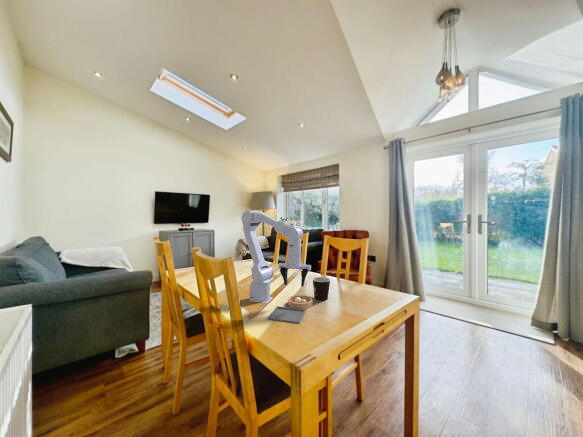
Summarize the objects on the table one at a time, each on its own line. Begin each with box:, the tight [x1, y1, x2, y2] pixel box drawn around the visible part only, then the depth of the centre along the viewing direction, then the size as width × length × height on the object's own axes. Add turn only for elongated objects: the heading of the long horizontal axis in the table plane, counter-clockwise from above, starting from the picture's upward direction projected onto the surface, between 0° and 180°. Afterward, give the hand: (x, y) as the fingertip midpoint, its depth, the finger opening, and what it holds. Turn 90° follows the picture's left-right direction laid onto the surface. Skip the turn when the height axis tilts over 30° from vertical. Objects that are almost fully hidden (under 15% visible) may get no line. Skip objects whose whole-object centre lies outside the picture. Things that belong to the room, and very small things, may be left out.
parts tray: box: [267, 305, 307, 325], centre depth 96 cm, size 13×12×1 cm
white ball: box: [294, 297, 301, 303], centre depth 107 cm, size 3×3×3 cm
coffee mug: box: [312, 276, 331, 302], centre depth 117 cm, size 12×9×10 cm
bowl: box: [287, 294, 314, 310], centre depth 107 cm, size 11×11×3 cm
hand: (294, 285), depth 104 cm, fingers open, 7 cm apart
